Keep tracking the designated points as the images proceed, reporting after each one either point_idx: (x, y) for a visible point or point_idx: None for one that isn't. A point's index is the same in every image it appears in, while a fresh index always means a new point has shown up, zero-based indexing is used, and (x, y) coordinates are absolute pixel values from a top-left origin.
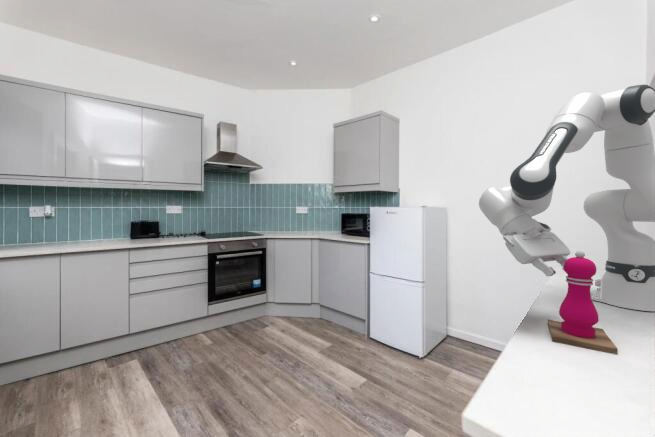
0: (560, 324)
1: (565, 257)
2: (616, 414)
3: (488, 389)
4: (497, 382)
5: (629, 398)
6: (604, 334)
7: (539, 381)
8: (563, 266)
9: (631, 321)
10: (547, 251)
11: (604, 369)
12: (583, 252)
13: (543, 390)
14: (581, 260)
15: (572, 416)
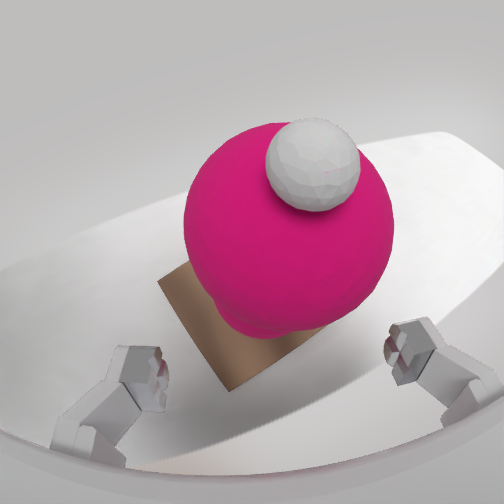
0: (237, 351)
1: (70, 432)
2: (453, 150)
3: None
4: None
5: (417, 149)
6: None
7: (482, 217)
8: (131, 416)
9: (16, 291)
10: (393, 487)
11: None
12: (308, 118)
13: (488, 205)
14: (362, 155)
15: (488, 171)
